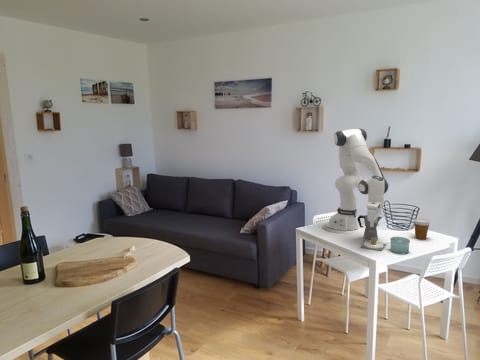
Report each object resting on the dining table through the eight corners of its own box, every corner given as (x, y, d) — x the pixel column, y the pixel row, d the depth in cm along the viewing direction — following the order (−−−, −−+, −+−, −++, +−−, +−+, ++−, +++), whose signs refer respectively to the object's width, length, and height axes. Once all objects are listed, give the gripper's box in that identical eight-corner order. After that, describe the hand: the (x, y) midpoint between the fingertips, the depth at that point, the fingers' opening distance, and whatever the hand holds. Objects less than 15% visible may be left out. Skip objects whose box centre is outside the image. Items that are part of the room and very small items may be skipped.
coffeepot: (379, 236, 238) (380, 210, 235) (382, 241, 229) (383, 214, 226) (355, 235, 240) (356, 210, 237) (357, 240, 231) (358, 213, 228)
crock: (388, 252, 210) (388, 240, 209) (391, 246, 219) (392, 235, 218) (407, 255, 204) (408, 243, 203) (410, 249, 213) (411, 238, 212)
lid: (361, 246, 218) (361, 239, 217) (366, 241, 228) (366, 233, 227) (381, 250, 212) (381, 242, 211) (385, 244, 221) (385, 236, 220)
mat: (360, 247, 218) (360, 246, 218) (365, 241, 228) (365, 241, 228) (381, 251, 212) (381, 250, 211) (385, 245, 221) (385, 244, 221)
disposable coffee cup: (425, 235, 237) (426, 218, 235) (431, 240, 228) (432, 222, 226) (410, 235, 238) (411, 218, 236) (415, 240, 229) (417, 222, 227)
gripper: (374, 198, 225) (372, 219, 228) (365, 205, 209) (364, 228, 211) (384, 200, 222) (382, 221, 225) (377, 207, 205) (375, 230, 208)
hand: (373, 224), depth 218 cm, fingers open, 8 cm apart
